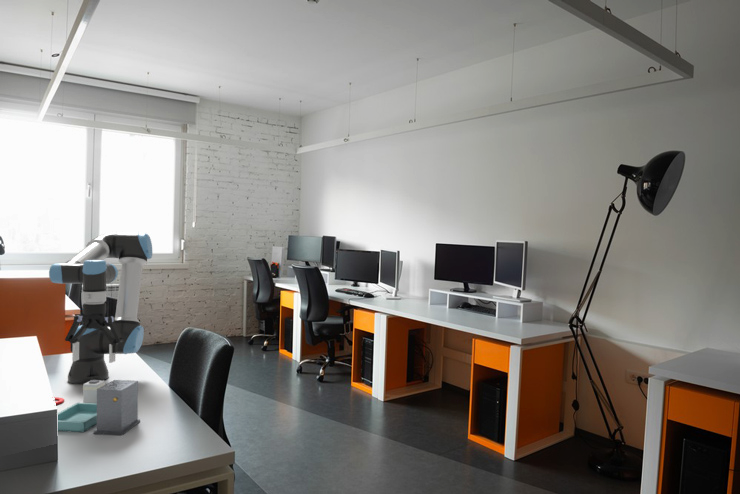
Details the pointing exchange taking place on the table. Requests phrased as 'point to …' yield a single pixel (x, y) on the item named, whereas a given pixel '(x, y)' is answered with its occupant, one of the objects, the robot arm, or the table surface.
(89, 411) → the parts tray
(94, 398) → the white tall square block
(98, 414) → the controller unit
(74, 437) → the table surface
